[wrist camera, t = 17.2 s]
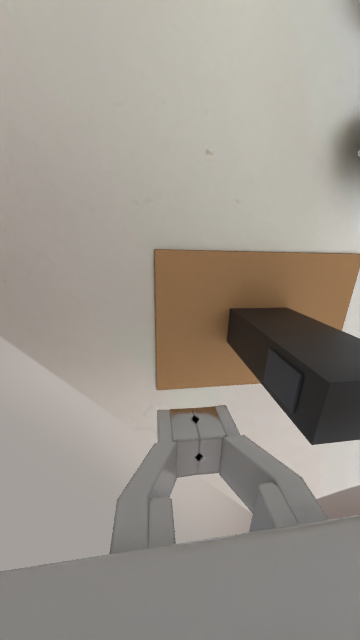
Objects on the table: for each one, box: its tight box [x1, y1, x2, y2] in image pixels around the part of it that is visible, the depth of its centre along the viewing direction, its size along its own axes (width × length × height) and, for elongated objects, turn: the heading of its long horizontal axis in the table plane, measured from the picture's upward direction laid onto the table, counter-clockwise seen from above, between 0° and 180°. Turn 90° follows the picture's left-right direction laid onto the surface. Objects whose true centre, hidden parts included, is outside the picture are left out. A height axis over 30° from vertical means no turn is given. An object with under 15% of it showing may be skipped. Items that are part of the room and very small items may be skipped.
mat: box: [155, 249, 360, 390], centre depth 22 cm, size 20×14×1 cm
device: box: [227, 308, 360, 445], centre depth 16 cm, size 6×4×12 cm, turn 89°
